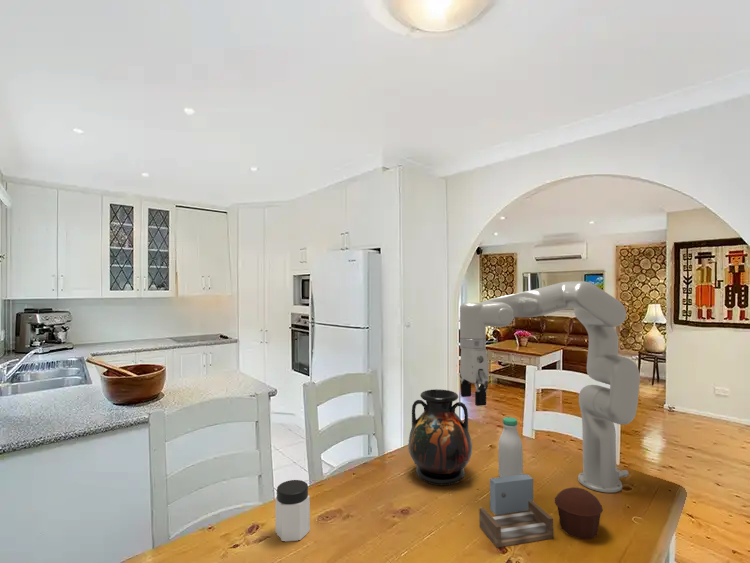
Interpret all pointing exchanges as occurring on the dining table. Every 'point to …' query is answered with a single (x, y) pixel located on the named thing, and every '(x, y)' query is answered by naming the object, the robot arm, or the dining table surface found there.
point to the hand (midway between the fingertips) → (473, 400)
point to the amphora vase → (440, 438)
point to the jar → (292, 510)
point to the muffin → (578, 512)
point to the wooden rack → (517, 526)
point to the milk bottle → (510, 449)
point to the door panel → (510, 494)
